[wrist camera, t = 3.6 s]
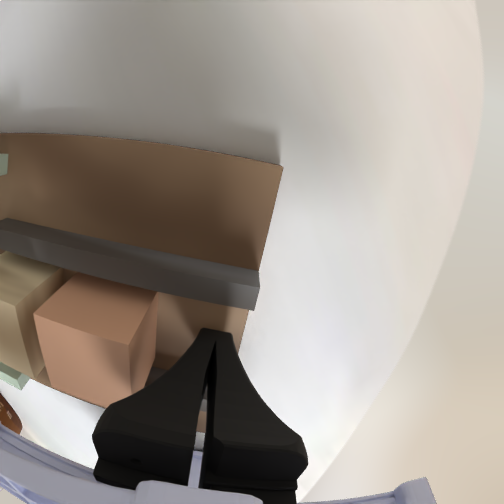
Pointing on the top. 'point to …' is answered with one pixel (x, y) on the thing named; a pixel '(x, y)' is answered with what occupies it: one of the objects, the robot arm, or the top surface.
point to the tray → (3, 370)
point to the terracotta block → (98, 338)
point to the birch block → (24, 309)
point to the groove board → (144, 226)
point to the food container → (9, 418)
